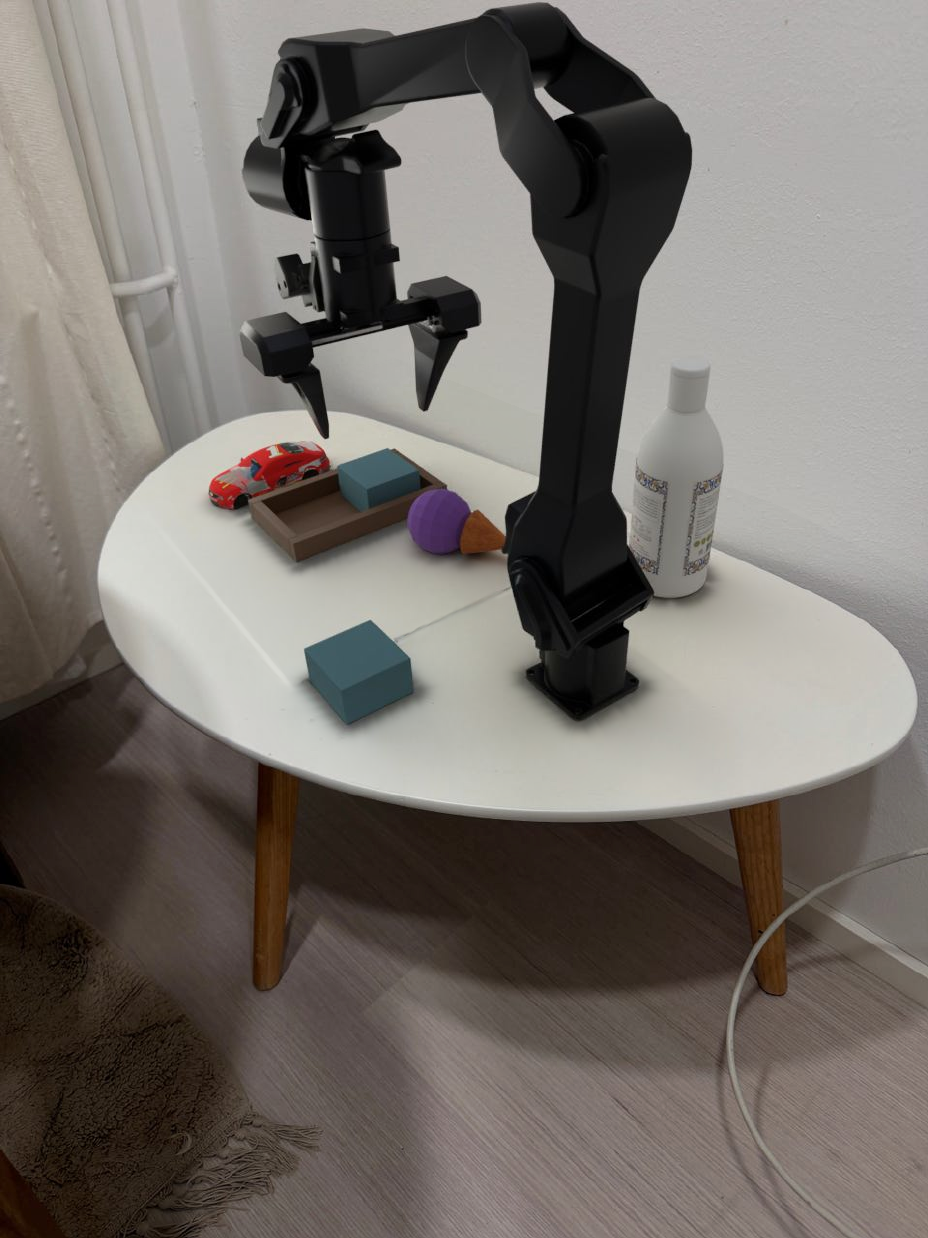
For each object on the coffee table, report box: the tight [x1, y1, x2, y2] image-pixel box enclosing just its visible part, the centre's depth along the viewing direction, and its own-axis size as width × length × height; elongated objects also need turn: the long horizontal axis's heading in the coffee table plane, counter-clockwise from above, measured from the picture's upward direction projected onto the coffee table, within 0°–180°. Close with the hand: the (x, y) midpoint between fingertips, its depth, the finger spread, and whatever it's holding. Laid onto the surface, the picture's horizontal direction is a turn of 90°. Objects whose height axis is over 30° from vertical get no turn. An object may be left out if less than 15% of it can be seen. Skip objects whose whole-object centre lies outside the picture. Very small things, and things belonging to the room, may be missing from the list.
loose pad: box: [303, 619, 415, 725], centre depth 71 cm, size 6×6×4 cm
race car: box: [208, 440, 331, 510], centre depth 96 cm, size 13×5×4 cm, turn 125°
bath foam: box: [628, 355, 725, 599], centre depth 76 cm, size 7×7×20 cm
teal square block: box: [336, 447, 420, 512], centre depth 93 cm, size 6×6×4 cm
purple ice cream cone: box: [406, 489, 506, 555], centre depth 83 cm, size 6×6×20 cm
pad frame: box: [248, 448, 448, 563], centre depth 92 cm, size 10×17×3 cm, turn 125°
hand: (375, 423), depth 78 cm, fingers open, 9 cm apart
